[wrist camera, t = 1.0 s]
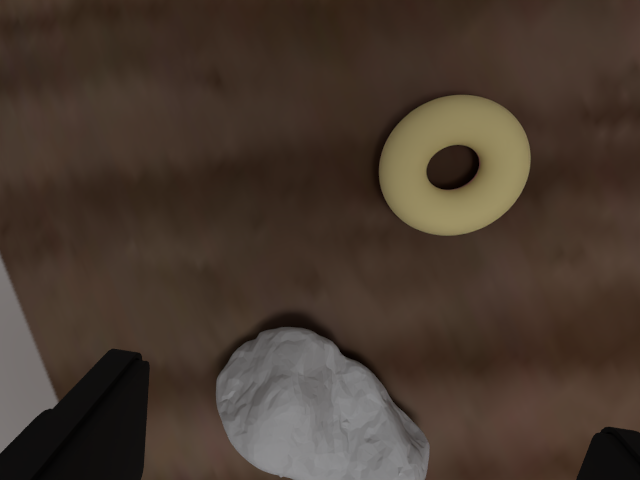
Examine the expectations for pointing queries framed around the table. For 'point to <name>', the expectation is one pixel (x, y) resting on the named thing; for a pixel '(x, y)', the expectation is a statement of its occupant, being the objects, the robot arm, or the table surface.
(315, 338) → the decorative stone
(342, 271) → the table surface
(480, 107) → the donut
